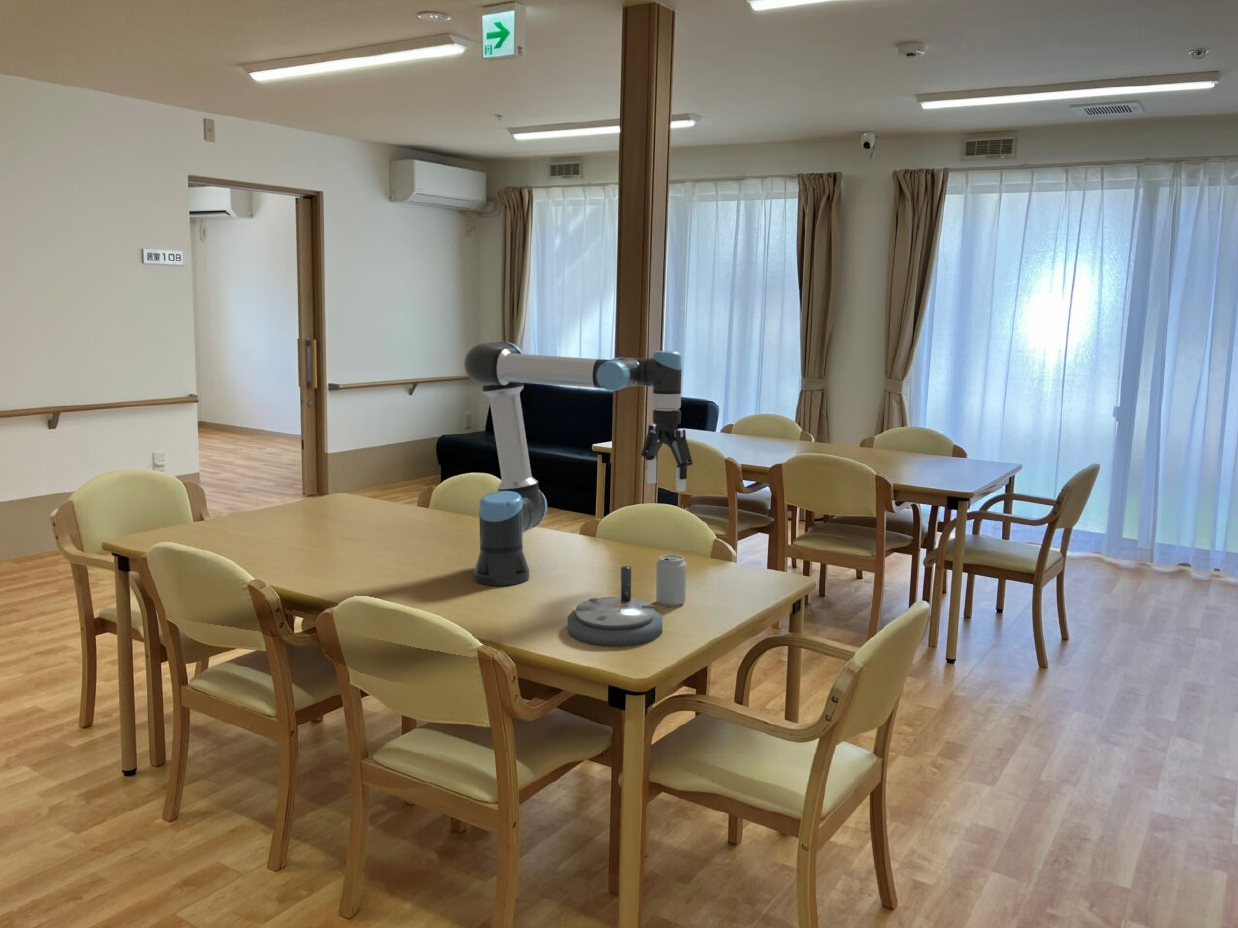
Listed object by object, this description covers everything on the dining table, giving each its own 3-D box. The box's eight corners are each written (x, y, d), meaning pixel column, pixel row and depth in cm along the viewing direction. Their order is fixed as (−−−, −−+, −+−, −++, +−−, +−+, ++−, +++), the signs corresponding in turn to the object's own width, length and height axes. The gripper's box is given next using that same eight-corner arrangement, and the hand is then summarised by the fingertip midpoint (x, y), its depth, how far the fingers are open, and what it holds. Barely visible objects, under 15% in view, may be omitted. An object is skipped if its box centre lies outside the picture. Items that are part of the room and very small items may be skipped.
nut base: (572, 648, 212) (572, 633, 212) (563, 617, 234) (563, 602, 233) (670, 644, 215) (670, 628, 215) (653, 613, 237) (653, 599, 236)
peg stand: (580, 630, 214) (580, 587, 212) (572, 606, 232) (572, 565, 230) (660, 627, 217) (660, 584, 215) (646, 603, 234) (646, 563, 233)
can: (654, 598, 249) (654, 553, 247) (683, 598, 250) (683, 553, 248) (658, 607, 242) (658, 561, 240) (687, 607, 242) (688, 560, 240)
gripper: (706, 412, 250) (705, 493, 254) (651, 404, 271) (650, 478, 275) (683, 414, 246) (682, 496, 250) (629, 405, 267) (628, 481, 270)
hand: (665, 487), depth 262 cm, fingers open, 13 cm apart
